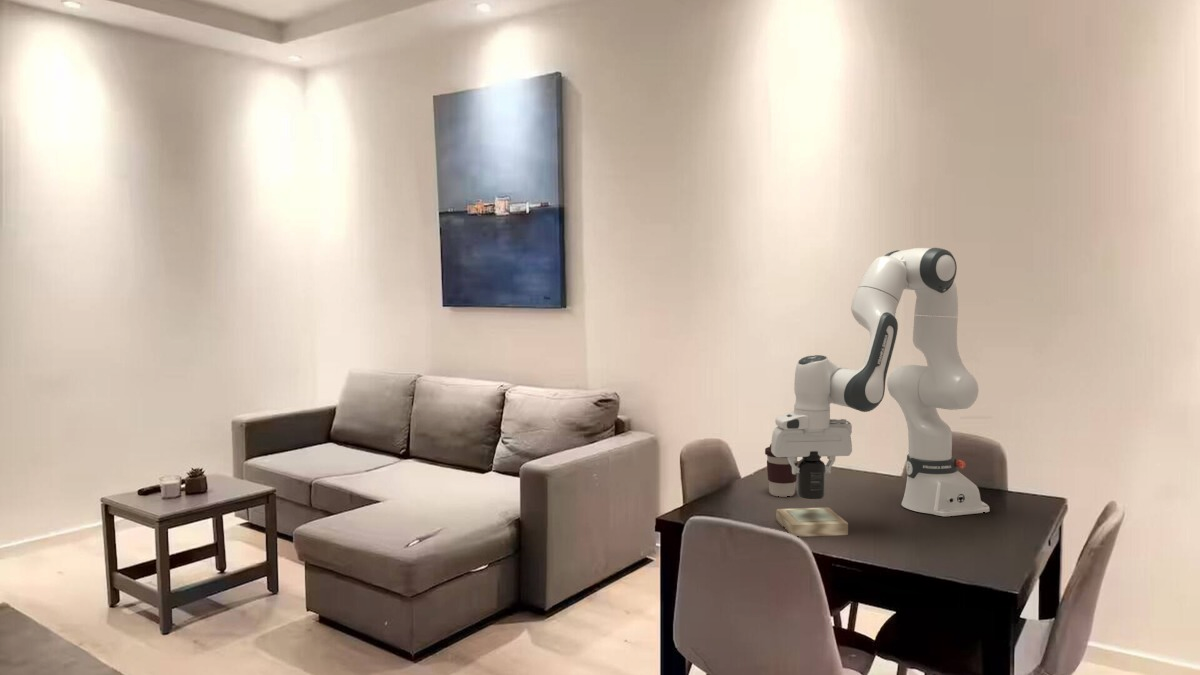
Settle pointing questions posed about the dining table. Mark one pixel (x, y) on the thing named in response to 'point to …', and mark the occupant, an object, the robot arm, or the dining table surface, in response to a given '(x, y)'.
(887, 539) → the dining table surface
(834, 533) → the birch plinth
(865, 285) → the robot arm
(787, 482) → the coffee cup
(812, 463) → the supplement bottle
